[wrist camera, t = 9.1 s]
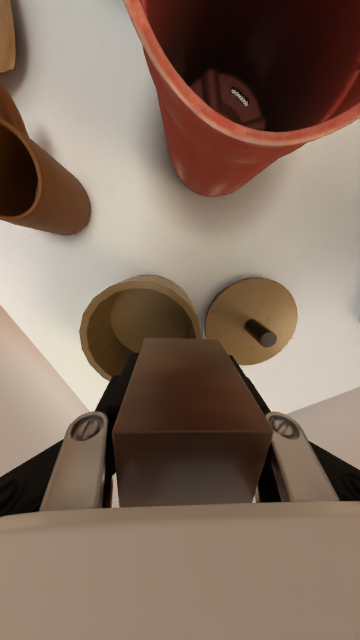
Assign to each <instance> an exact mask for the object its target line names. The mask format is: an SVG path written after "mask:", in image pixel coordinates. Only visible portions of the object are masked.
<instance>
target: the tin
mask: <svg viewBox="0 0 360 640" xmlns="http://www.w3.org/2000/svg"><path fill="white" fill-rule="evenodd" d="M146 337H147V338H181V339H202V333H201V329H200V324H199V320H198V317H197V315H196V313H195V310H194V308H193V306H192V304H191V302H190V300H189V299H188V297H187V295H186V294H185V292H184V291H183V290H182V289H181V288H180V287H179V286H177V285H176V284H175V283H173V282H172V281H170V280H168V279H165V278H163V277H159V276H154V275H140V276H137V277H133V278H130V279H127V280H124V281H122V282H120V283H117V284H115V285H113V286H111V287H109V288H107V289H106V290H105V291H103V292H102V293H100V294H99V295H97V296H96V297H95V298H93V300H92V301H91V303H90V304H89V306H88V307H87V309H86V310H85V312H84V313H83V317H82V322H81V326H80V339H81V346H82V350H83V352H84V354H85V356H86V358H87V360H88V362H89V364H90V365H91V366H92V367H93V368H94V369H95V370H96V371H97V372H98V373H99V374H100V375H101V376H102V377H103V378H105V379H107V380H108V381H110V380H111V378H112V376H113V375H120V374H121V372H122V370H123V368H124V365H125V363H126V361H127V359H128V356H129V354H130V353H140V350H141V347H142V344H143V341H144V338H146Z"/></svg>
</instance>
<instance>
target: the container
mask: <svg viewBox="0 0 360 640" xmlns="http://www.w3.org/2000/svg"><path fill="white" fill-rule="evenodd" d="M14 66H15V29H14V22H13V13H12V7H11V2H10V0H0V73H1V72H7V71H8V70H9V69H10V70H13V68H14Z"/></svg>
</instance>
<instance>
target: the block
mask: <svg viewBox="0 0 360 640" xmlns="http://www.w3.org/2000/svg"><path fill="white" fill-rule="evenodd" d="M273 434H274V431H273V429H272V427H271V425H270V424H269V422H268V420H267V419H266V417H265V415H264V414H263V412H262V410H261V409H260V407H259V405H258V404H257V402H256V400H255V399H254V397H253V395H252V394H251V392H250V390H249V389H248V387H247V386H246V384H245V382H244V381H243V379H242V377H241V376H240V374H239V372H238V371H237V369H236V367H235V366H234V364H233V362H232V361H231V359H230V357H229V356H228V354H227V352H226V351H225V349H224V347H223V346H222V344H221V342H220V341H219V340H216V339H181V338H147V337H146V338H144V341H143V344H142V347H141V350H140V353H139V356H138V358H137V361H136V364H135V367H134V370H133V373H132V376H131V379H130V381H129V384H128V387H127V390H126V393H125V396H124V399H123V402H122V404H121V407H120V410H119V413H118V416H117V419H116V422H115V425H114V428H113V430H112V437H113V447H114V456H115V466H116V476H117V486H118V496H119V506H120V508H123V507H149V506H177V505H207V504H238V503H252V500H253V497H254V494H255V491H256V488H257V485H258V481H259V478H260V475H261V472H262V469H263V465H264V462H265V459H266V456H267V453H268V450H269V446H270V443H271V440H272V437H273Z"/></svg>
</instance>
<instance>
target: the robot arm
mask: <svg viewBox="0 0 360 640" xmlns="http://www.w3.org/2000/svg"><path fill="white" fill-rule="evenodd" d="M138 356H139V353H130V354H129V356H128V359H127V361H126V363H125V365H124V368H123V370H122V372H121V374H120V375H113V376H112V378H111V380H110V382H109V384H108V386H107V388H106V390H105V392H104V394H103V396H102V398H101V400H100V402H99V404H98V406H97V408H96V410H95V411H94V412H88V413H85V414H83V415H81V416H79V417H78V418H77V419H75V420H74V421H73V422H72V423H71V424H70V425H69V427H68V429H67V431H66V434H65V437H64V439H63V440H61V441H59V442H58V443H56V444H54V445H53V446H51V447H50V448H48V449H46V450H45V451H43V452H41V453H40V454H38V455H36V456H35V457H33V458H31V459H30V460H28V461H26V462H25V463H23V464H21V465H20V466H18V467H16V468H15V469H13V470H11V471H10V472H9V473H6V474H5V475H3V476H2V477H0V640H360V470H358V469H357V468H355V467H353V466H352V465H350V464H348V463H346V462H344V461H343V460H341V459H339V458H338V457H336V456H334V455H332V454H331V453H329V452H327V451H326V450H324V449H322V448H320V447H319V446H317V445H315V444H313V443H312V442H310V441H308V439H307V437H306V435H305V434H304V432H303V430H302V428H301V427H300V425H299V424H298V423H297V422H296V421H295V420H293V419H292V418H291V417H289V416H287V415H285V414H283V413H279V412H271V411H270V409H269V408H268V406H267V405H266V403H265V402H264V400H263V399H262V397H261V396H260V394H259V393H258V391H257V390H256V388H255V387H254V385H253V384H252V382H251V381H250V379H249V378H248V377H246V376H245V374H244V373H243V371H242V370H241V368H240V366H239V365H238V363H237V362H236V360H235V359H234V357H233V356H232V355H228V356H229V357H230V359H231V361H232V362H233V364H234V366H235V367H236V369H237V371H238V372H239V374H240V376H241V377H242V379H243V381H244V382H245V384H246V386H247V387H248V389H249V390H250V392H251V394H252V395H253V397H254V399H255V400H256V402H257V404H258V405H259V407H260V409H261V410H262V412H263V414H264V415H265V417H266V419H267V420H268V422H269V424H270V425H271V427H272V429H273V431H274V434H273V437H272V440H271V443H270V446H269V450H268V453H267V456H266V459H265V462H264V465H263V469H262V472H261V475H260V478H259V481H258V485H257V488H256V491H255V498H256V503H238V504H207V505H177V506H149V507H123V508H112V493H113V475H114V474H115V473H116V466H115V456H114V447H113V437H112V430H113V428H114V425H115V422H116V419H117V416H118V413H119V410H120V407H121V404H122V402H123V399H124V396H125V393H126V390H127V387H128V384H129V381H130V379H131V376H132V373H133V370H134V367H135V364H136V361H137V358H138Z"/></svg>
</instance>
